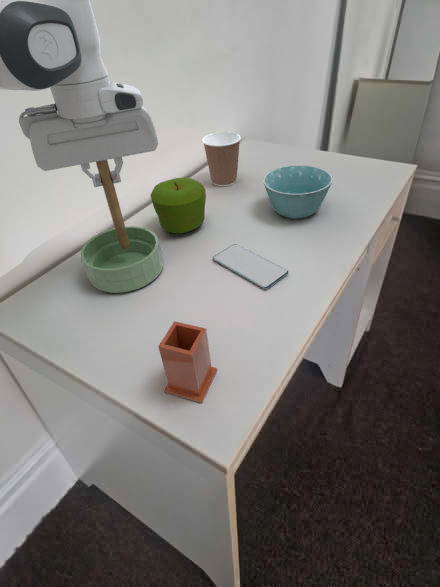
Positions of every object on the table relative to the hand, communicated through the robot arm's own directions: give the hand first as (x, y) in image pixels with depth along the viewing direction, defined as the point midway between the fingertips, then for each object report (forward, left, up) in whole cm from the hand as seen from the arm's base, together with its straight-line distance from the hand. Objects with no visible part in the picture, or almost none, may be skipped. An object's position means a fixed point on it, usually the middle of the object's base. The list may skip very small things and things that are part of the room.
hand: (107, 183), depth 67 cm
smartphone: (+25, +6, -18) cm, 31 cm away
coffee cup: (+6, +43, -18) cm, 47 cm away
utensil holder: (+25, -23, -18) cm, 38 cm away
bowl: (+29, +31, -18) cm, 46 cm away
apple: (+5, +17, -18) cm, 25 cm away
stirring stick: (0, 0, -14) cm, 14 cm away
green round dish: (+1, -2, -18) cm, 18 cm away
